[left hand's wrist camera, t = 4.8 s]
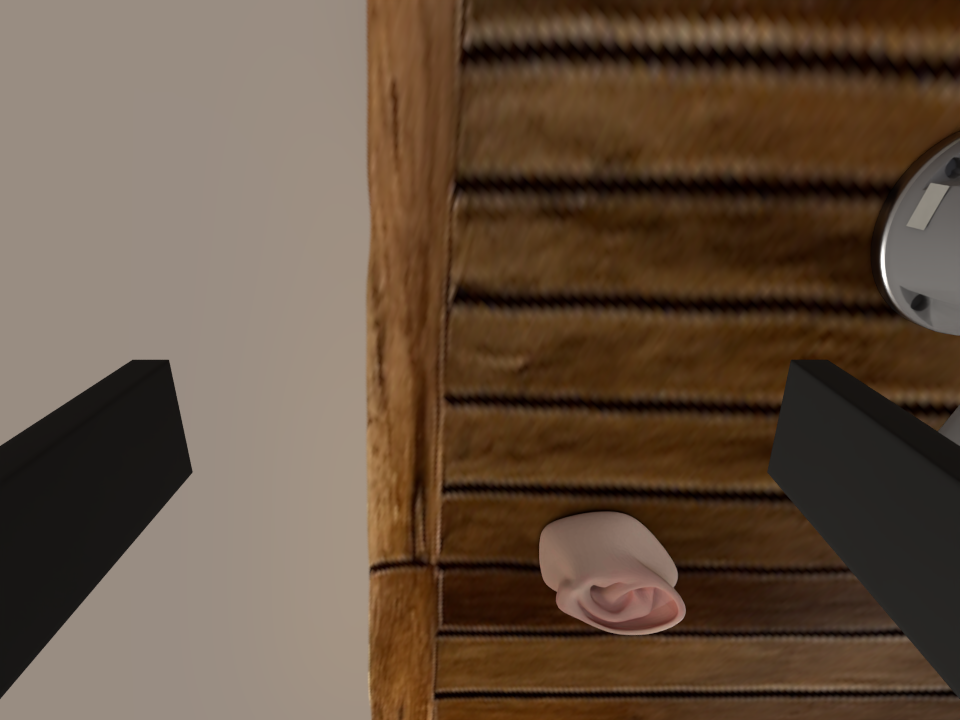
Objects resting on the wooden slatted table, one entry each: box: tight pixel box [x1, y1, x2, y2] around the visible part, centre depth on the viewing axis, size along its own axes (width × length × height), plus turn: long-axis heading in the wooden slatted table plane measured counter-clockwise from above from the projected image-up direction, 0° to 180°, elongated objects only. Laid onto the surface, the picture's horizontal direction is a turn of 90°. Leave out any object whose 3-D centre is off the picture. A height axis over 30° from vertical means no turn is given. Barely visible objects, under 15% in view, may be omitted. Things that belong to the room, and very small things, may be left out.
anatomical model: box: [539, 512, 686, 635], centre depth 52 cm, size 13×4×12 cm
